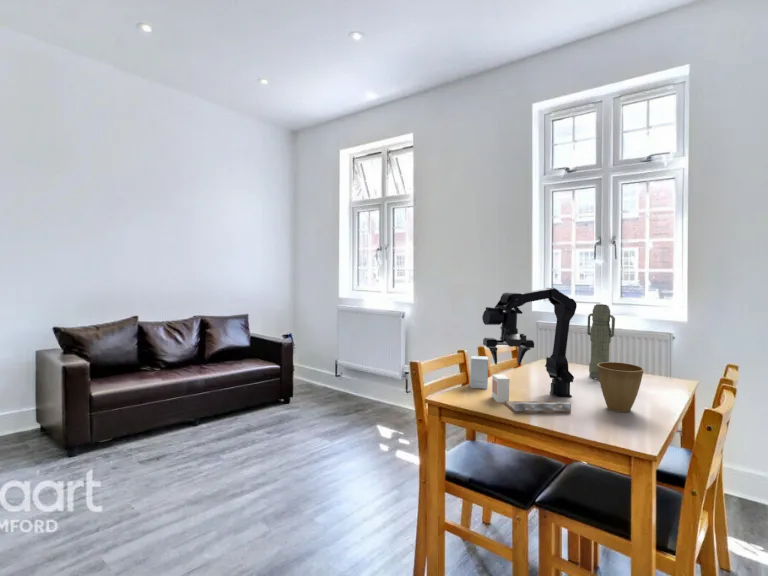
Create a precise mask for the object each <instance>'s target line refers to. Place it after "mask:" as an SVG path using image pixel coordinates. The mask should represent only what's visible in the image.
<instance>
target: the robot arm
mask: <svg viewBox="0 0 768 576" xmlns="http://www.w3.org/2000/svg"><path fill="white" fill-rule="evenodd" d="M541 300H548V301H549V303H550V304H552V305H553V309H554V310H553V311H554V315H555V317H556V324H555V330H554V331H555V332H554V339H553V346H552V347H553V348H552V354H551V355H550V357H548V356H547V357H546V358H545V365H544V367H545V368H546V370H545V372H547V374H548V375H549V379H551V382H550V391H549V393H550V395H552V396H554V397H557V398H565V397H566V398H572V397H573V396H572V395H571V383H573V382H574V378H575V376H574V375H573V374H572V372H570V371H569V362H568V359H567V355H566V354H567V347H568V339H569V331H570V322H571V320H572V318H573V317H574V316H575V314H576V310H577V306H578V305H577V302H576V301H575V299H573V298H571V297H569V296H568V295H566V294H564V293H563V292H561V291H560V290H558V289H557V288H556V287H546V288H543V289H542V288H541V289H537V290H531V291H525V292H504V293H502V295H501V296H500V300H499V301H497V304H496V305H495V306H494V307H489V306H486V307H485V310H484V311H483V313H482V318H481V319H482V322H483V325H484V326H485V325H486V326H500V330H501V332H500V337H499V338H500V339H496V338H494V337H484V338H483V339H482V345H483V346H485V347H486V348H487V349H489V351H490V353H491V355H492V359H493V362H494V365H497V364H498V347H497V346H508V347H511V348H512V347H517V348H518V349H517V365H518V366H520V365H521V363H522V360H523V359H524V357H525V354H526V353H527V352H528V351H530V350H531V349H533V348H535V342H534V340H532V339H530V338H527V334H526V333H519V330H518V329H519V328H518V327H517V326H518V325H517V324H518V314H519V315H520V314H521V315H522V314H524V312H523V311H522V310H521V309H520V308H519V307H522V306H524V305H525V304H527V303H531V302H536V301H541Z"/></svg>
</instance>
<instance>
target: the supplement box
mask: <svg viewBox="0 0 768 576" xmlns="http://www.w3.org/2000/svg"><path fill="white" fill-rule="evenodd" d="M469 372H470V373H469V374H470V376H469V377H470V379H469V380H470V383H469V384H470V385H469V387H470V388H471V389H472V388H473V389H485V390H488V388H489V387H488V380H489V377H488V376H489V357H488V356H486V355H485V356H479V355H471V357H470V371H469Z"/></svg>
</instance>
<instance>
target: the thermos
mask: <svg viewBox="0 0 768 576" xmlns="http://www.w3.org/2000/svg"><path fill="white" fill-rule="evenodd" d="M591 317H592V318H591ZM591 320H592V324H591ZM610 322H611V324H610ZM615 325H616V317H615V316H614V315H612V314H611V309H610V306H609V305H607V304H604V303H603V304H599V303H597V304H594V306H593V308H592V313H589V314H588V316H587V330H586V331H587V335H588V336H589V340H590V362H589V363H588V364H589V365H588V372H589V375H588V376H590V377H592V378H591V379H594V378H596V379H595V380H600V379H599V373H598V364H599V363H603V362H609V361H610V344H611V342H612V338H613V337H614V336H615ZM590 377H589V378H590Z"/></svg>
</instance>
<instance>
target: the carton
mask: <svg viewBox="0 0 768 576" xmlns="http://www.w3.org/2000/svg"><path fill="white" fill-rule="evenodd" d="M491 377H492V381H491V398H492V397H493V398H494V399H493V398H492V399H493V400H494V401H495V402H496V403H504V401H510V378H509V377H507V376H506V375H505V374H492V376H491Z"/></svg>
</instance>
